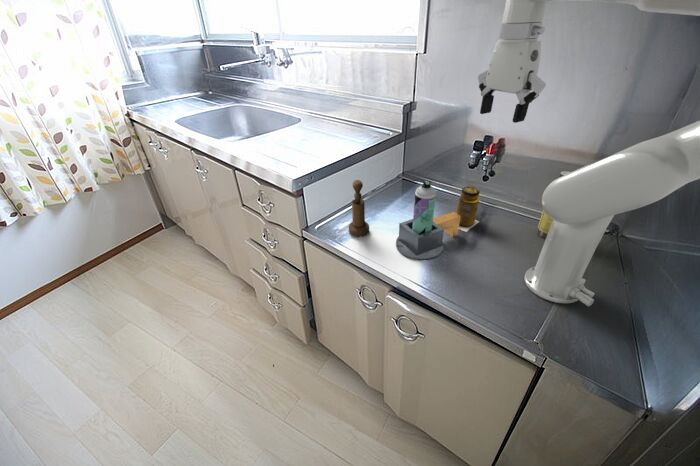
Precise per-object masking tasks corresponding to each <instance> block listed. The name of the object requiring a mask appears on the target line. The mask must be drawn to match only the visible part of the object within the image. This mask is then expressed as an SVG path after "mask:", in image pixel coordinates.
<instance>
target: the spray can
mask: <svg viewBox="0 0 700 466" xmlns="http://www.w3.org/2000/svg"><path fill="white" fill-rule="evenodd" d="M436 198H437V189H436V188H434V187H432V185H431V181H429V180H424V181H423V184H421V185H420V186H418V187H416V189H415V193H414V204H413V215H412V216H413V217H412V219H413V227H412V230H413V231H415V232H416V233H417V234H418V235H421V234H424V233H427V232H429V231H432V223H433V219H434V213H435V208H436V207H435V205H436V200H437V199H436Z"/></svg>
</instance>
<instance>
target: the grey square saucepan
mask: <svg viewBox="0 0 700 466" xmlns="http://www.w3.org/2000/svg"><path fill="white" fill-rule="evenodd" d="M460 218H461V216H460V215H458V214H457V212H455V211H452V212H450V213H446V214H442V215H440V216H437V217H435V218H434V217H433V223H432V231H429V232H427V233H424V234H421V235H418V234H417V233H416V232H415V231H413V230H412V227H413V218H411V219H409V220H406V221H403V222H400V223H398V224H399V226H398V236H397V238H396V241H395V247H396V251H398V252H399V254H400V255H402V256H403V257H406V258H407V259H411V260H415V261H431V260H434V259H436V258H439V257H440V256H441V255H442V254H443V252H444V248H445V247H444V246H445V244H444V241H443V239H444V232H445V233H446V234H448V235H449V236H450V237H451V238H453V237H456V236H458V233H459V230H460V229H459V223H460Z"/></svg>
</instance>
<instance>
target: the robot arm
mask: <svg viewBox="0 0 700 466" xmlns="http://www.w3.org/2000/svg"><path fill="white" fill-rule="evenodd" d="M567 1H568V2H569V1H570V2H572V1H574V2H575V1H577V2H578V1H579V2H581V1H583V2H584V1H587V2H590V1H591V2H603V3H604V2H605V3H606V2H607V3H619V4H625V5H632V6H635V7H636V8H637V9H638V10H640V11H644V12H648V13H661V14H671V15H672V14H675V15H685V16H686V15H687V16H698V17H700V0H505V5H504V11H503V16H502V19H501V20H502V22H501V25H500V32H499V37H498V40H497V41H496V43H495V46H494V48H493V49H492V50H493V51H492V54H491V57H490V61H489V65H488V69H487V70H485V71H484V72H482V73H480V74H478V76H477V79H478V80H477V81H478V84H479V85H478V89H479V91H480V95H481V97H482V99H481V105H480V111H479V114H481V115H483V114H485V115H486V114H489V113H491V112H492V108H493V104H494V99H495V95H493V94H494V93H495V92H496V91H497V92H503V93H508V94H513V95H514V94H516V98H517V100H518V103H516V105H515V109H514V112H513V113H514V114H513V117H512V123H515V124H516V123H520V122H524V121H525V120H526V116H527V113H528V109H529V106H530V104H532V102H533V101H535V100H536V98H538V97H539V96H540V94H541V93H542V92H543V90H544V89H545V87H546V86H547V84H546V82H545V81H544V80H543V79H541V77H539V76H538V74H539V73H538V72H539V67H540V62H541V61H540V60H541V51H542V41H541V40H539V36H540V35H543V34H544V33H545V30H546V28H545V26H542V25H543V24H542V23H543V19H544V15H545V11H546V7H547V3H548V2H567ZM570 172H571V173H569V174H567V175H564V176H562V177H560V178H559V177H558V178H556V179H554V180H552V181H551V182H550V183H549V184H548V185H547V187H546V188H545V189H544V191H543V193H542V197H541V207H542V211H543V210H544V212H545V213H546V214H547V215H548V216H549V217H550V218H551V219H553V222H552V224H551V227H550V229H549V232H548V234H547V237H546V238H545V240H544V243H543V245H542V248H541V250H540V253H539V256H538V259H537V262H536V265H535V266H533V267H530V268H529V269H527V271H525V274H524V284H526V287H528V289H529V290H530V291H531V292H532V293H534V294H535V295H537V296H538V297H539V298H542V299H544V300H547V301H549V302H553V303H556V304H557V303H558V304H573V303H576V302H578V301H579V302H581V303H583V304H584V305H585V306H587V307H590V306H592V304H594V302H595V299H593V297H594V296H595V292H593V291H592V290H589V289H588V288H586V286H585V283H586V281H587V280H586V279H585V278H583V276H584V274H585V272H586V270H587V268H588V266H589V263H591V259H592V257H593V256H594V253H595V252H596V249H597V247H598V245H599V244H600V243H601V240H602V238H603V236H604V234H605V232H606V230H607V228H608V227H609V225H610V223H611V221H612V220H613V218H614V217H615V215H619V214H622V213H625V212H630V211H633V210H638V209H640V208H642V207H646V206H647V205H651V204H654V203H656V202H658V201H660V200H662V199H664V198H665V197H667V196H669V195H670V194H672V193H673V192H675V191H676V190H678V189H680V188H682V187H683V186H685V185H687V184H688V183H691V182H694V181H697V180H699V179H700V120H697V121H695V122H693V123H690V124H688V125H685V126H682V127H681V128H679V129H676V130H673V131H671V132H669V133H666V134H663V135H661V136H657V137H653V138H651V139H647V140H645V141H640V142H638V143H636V144H634V145H631V146H630V147H627V148H625V149H622V150H620V151H618V152H616V153H614V154H611V155H610V156H607V157H604V158H602V159H600V160H598V161H596V162H593V163H590V164H587V165H585V166H582V167H579V168H577V169H575V170H573V171H570Z"/></svg>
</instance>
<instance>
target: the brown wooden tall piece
mask: <svg viewBox="0 0 700 466" xmlns="http://www.w3.org/2000/svg"><path fill="white" fill-rule="evenodd" d="M363 186H364V185H363V182H362V180H360V179H357V180H354V181H353V182H352V188H353V190H354V191H355V192H354V193H353V197H354V199H352V201H351V211H352V212H351V213H352V217H351V218H352V222H350V223H349V224H348V233H349V235H350V236H352V237H354V238H363V237H366V236H368V235H369V233H370V224H369V223H368V222H366V218H365V217H366V215H365V213H366V211H365V200H364V199H362V193H361V190H362V188H363Z"/></svg>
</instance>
